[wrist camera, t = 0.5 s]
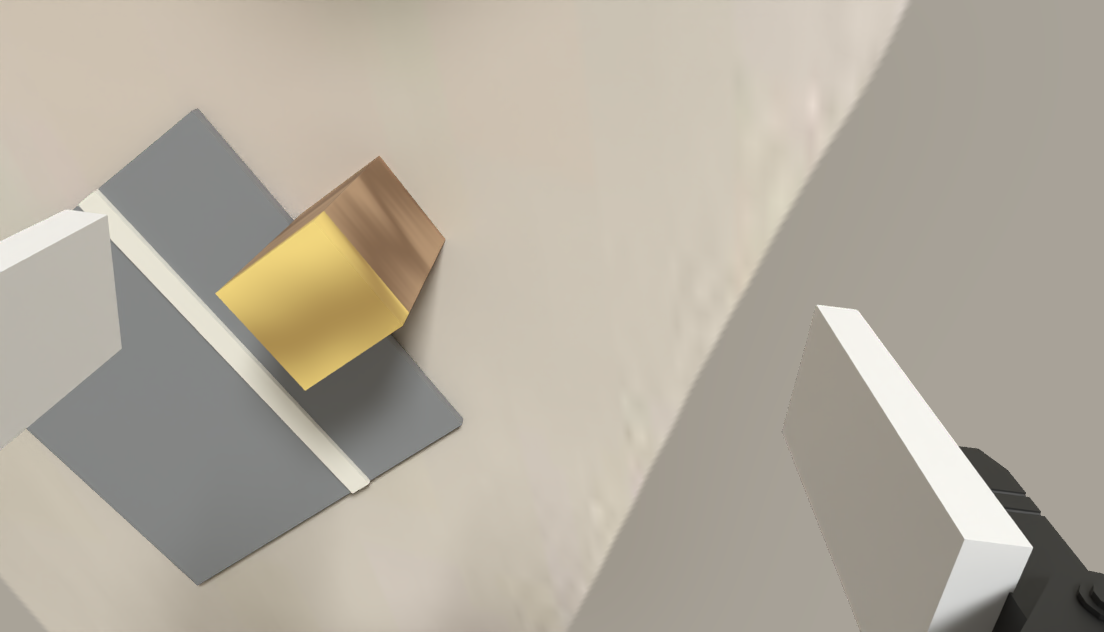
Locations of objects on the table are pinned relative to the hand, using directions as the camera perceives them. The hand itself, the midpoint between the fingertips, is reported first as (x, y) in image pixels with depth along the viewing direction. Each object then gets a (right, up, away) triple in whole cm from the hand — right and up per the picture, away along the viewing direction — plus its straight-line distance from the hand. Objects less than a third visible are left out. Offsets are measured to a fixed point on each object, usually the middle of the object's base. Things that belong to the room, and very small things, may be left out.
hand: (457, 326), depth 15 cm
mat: (-17, -3, +28) cm, 33 cm away
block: (-7, +4, +25) cm, 26 cm away
